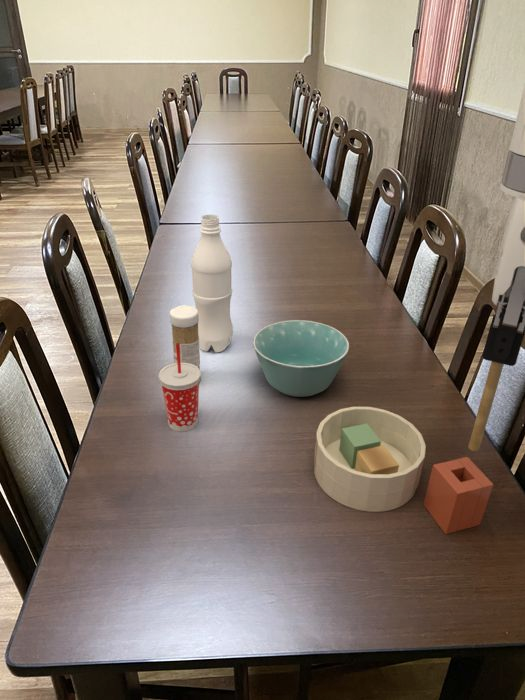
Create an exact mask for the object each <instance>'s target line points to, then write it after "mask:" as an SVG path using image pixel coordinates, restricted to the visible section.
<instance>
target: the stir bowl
mask: <svg viewBox="0 0 525 700" xmlns="http://www.w3.org/2000/svg"><path fill="white" fill-rule="evenodd" d="M362 424H368V425H369V426H370V428H371V429H372V430H373V431H374V433H375V434H376V435H377V437H378V438H379V439H380V441H381V444H380V446H383V445H384V446H385V447H386V449H387V450H388V451H389V453H390V454H391V455H392V456H393V458H394V459H395V460H396V462H397V463H398V464H399V468H398V472H397V473H392V474H388V475H387V474H368V473H363V472H359V471H355V468H353V469H351V467H350V466H349V464H348V463H347V461H346V460H345V458H344V457H343V455H342V454H341V452H340V450H339V448H340V440H341V432H342V428H347V427H352V426H357V425H362ZM426 447H427V446H426V443H425V440H424V437H423V434H422V433H421V432H420V431H419V430H418V429H417V427H415V425H414V424H413V423H411V422H410V421H409V420H407V419H406V418H404V417H403V416H401V415H399V414H396V413H395V412H391V411H389V410H387V409H384V408H383V409H382V408H378V407H372V406H350V407H343V408H339V409H337V410H336V411H334V412H331V413H329V414H328V415H326V416H325V417H324V418H323V419H322V420H321V422H320V423H319V424H318V428H317V430H316V433H315V445H314V453H313V474H314V478H315V480H316V481H317V484H318V485H319V487H320V488H321V489H322V491H323V492H324V493H325V494H326V495H327V496H329V498H331V499H332V500H334V501H336V502H337V503H339V504H341V505H343V506H345V507H346V508H347V507H348V508H350V509H353V510H357V511H362V512H368V513H380V512H389V511H392V510H395V509H398V508H400V507H402V506H404V505H406V504H407V503H408V502H409V501H410V500H412V498H413V497H414V496H415V495H416V492H417V489H418V486H419V483H420V479H421V475H422V470H423V466H424V462H425V458H426V449H427V448H426Z"/></svg>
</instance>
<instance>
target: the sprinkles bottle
mask: <svg viewBox="0 0 525 700" xmlns="http://www.w3.org/2000/svg"><path fill="white" fill-rule="evenodd" d="M198 321H199V315H198V310H197V309H196V306H192V305H186V304H183V305H178V306H175V307H173V308H172V309H171V310H170V311H169V322H170V324H171V332H172V333H171V335H172V352H173V353H172V354H173V364H174V363H177V352H176V344H177V343H179V347H180V361H181V363H189V364H193V365H195V366H197V367H198V368H199V370H200V371H201V366H200V365H201V357H200V356H201V353H200V352H201V351H200V350H201V349H200V347H199V336H198ZM200 378H201V379H202V376H201V377H200ZM200 382H201V380H200V381H199V383H200Z"/></svg>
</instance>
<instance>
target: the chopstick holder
mask: <svg viewBox="0 0 525 700" xmlns="http://www.w3.org/2000/svg"><path fill="white" fill-rule="evenodd" d="M493 487H494V484H493V482H492V481H491V480H490V479H489V478H488V477H487V475H485V474H484V472H483V471H482V470H481V469H480V468H479V467H478V466H477V465H476V464H475V463H474V462H473V461H472V460H471V459H470V458H469V457H468V456H465V457H461V458H456V459H452V460H448V461H444V462H443V461H442V462H438V463H435V464H433V465H432V468H431V472H430V476H429V481H428V484H427V488H426V493H425V496H424V501H423V506H424V508H425V509H426V511H427V512H428V513H429V514H430V516H431V517H432V518H433V520H434V521H435V522H436V524H437V525H438V526H439V528H440V529H441V530H442V532H443V533H444V535H450V534H453V533H456V532H459V531H463V530H466V529H470V528H474V527H477V526H478V527H479V526H480V525H481V523H482V521H483V518H484V514H485V511H486V508H487V506H488V502H489V499H490V496H491V493H492V491H493Z"/></svg>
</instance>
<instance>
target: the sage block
mask: <svg viewBox="0 0 525 700" xmlns="http://www.w3.org/2000/svg"><path fill="white" fill-rule="evenodd" d="M380 444H381V441H380V439H379V438H378V437H377V435H376V434H375V433H374V431H373V430H372V429H371V428H370V426H369V425H368V424H362V425H357V426H352V427H347V428H342V432H341V440H340V448H339V450H340V452H341V454H342V455H343V457H344V458H345V460H346V461H347V463H348V464H349V466H350V467H351V469H353V468H355V465H356V458H357V451H360V450H365V449H369V448H374V447H379V446H380Z"/></svg>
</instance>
